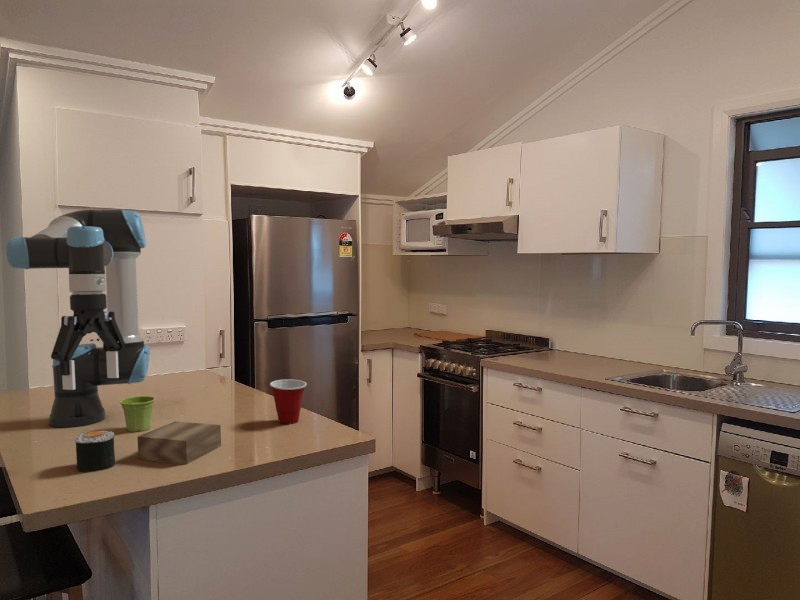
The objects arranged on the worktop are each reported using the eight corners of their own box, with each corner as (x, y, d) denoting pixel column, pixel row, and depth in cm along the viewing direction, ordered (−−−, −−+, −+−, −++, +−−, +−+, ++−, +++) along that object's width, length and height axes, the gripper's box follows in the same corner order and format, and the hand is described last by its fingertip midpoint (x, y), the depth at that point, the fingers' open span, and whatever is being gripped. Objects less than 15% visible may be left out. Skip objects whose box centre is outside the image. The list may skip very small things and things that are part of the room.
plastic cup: (290, 428, 166) (289, 387, 166) (263, 423, 172) (262, 383, 171) (315, 419, 175) (314, 380, 175) (288, 415, 181) (287, 377, 180)
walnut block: (138, 460, 142) (137, 436, 141) (175, 443, 155) (175, 421, 155) (187, 465, 138) (186, 440, 137) (221, 447, 151) (220, 424, 151)
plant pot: (163, 426, 171) (162, 397, 170) (139, 435, 162) (138, 404, 161) (138, 423, 174) (137, 395, 173) (113, 432, 165) (112, 402, 164)
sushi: (78, 463, 139) (76, 430, 139) (116, 458, 142) (115, 426, 142) (73, 474, 132) (72, 440, 131) (114, 468, 135) (113, 435, 135)
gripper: (57, 295, 122) (62, 395, 123) (138, 290, 146) (141, 373, 147) (28, 296, 123) (33, 394, 125) (113, 290, 148) (116, 373, 149)
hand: (92, 383), depth 136 cm, fingers open, 13 cm apart
